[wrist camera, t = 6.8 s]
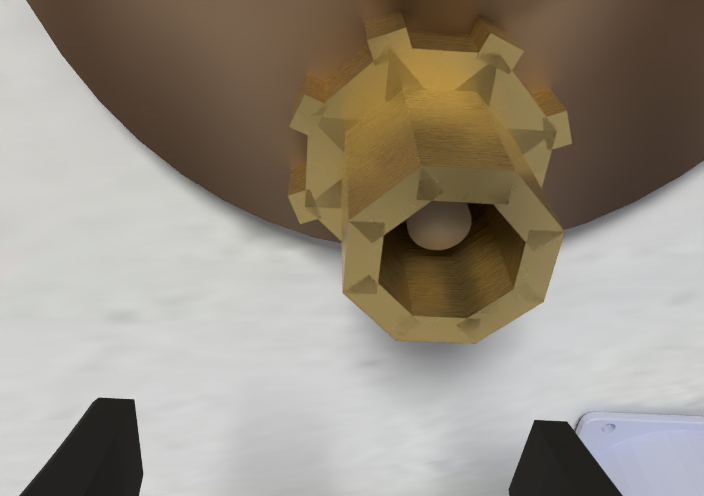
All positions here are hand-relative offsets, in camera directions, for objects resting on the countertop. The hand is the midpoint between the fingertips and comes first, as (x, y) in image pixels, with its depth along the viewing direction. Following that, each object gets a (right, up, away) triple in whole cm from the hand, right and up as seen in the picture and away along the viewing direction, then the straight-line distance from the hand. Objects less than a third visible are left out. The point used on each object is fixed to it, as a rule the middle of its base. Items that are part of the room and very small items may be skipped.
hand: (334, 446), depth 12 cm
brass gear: (+2, +6, +6) cm, 9 cm away
